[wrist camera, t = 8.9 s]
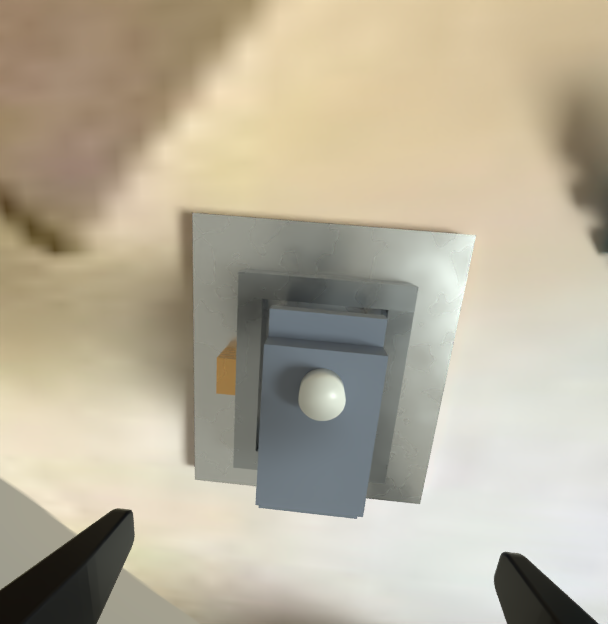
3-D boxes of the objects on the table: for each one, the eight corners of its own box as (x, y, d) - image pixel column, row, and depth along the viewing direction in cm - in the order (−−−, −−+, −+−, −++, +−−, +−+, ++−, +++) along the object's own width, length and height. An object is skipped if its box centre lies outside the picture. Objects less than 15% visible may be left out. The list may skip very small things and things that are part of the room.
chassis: (414, 490, 20) (428, 526, 17) (201, 467, 20) (184, 499, 18) (466, 235, 16) (493, 234, 13) (200, 214, 16) (178, 209, 14)
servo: (347, 448, 18) (362, 558, 12) (274, 440, 18) (250, 545, 12) (368, 296, 16) (399, 333, 10) (284, 288, 16) (261, 320, 10)
